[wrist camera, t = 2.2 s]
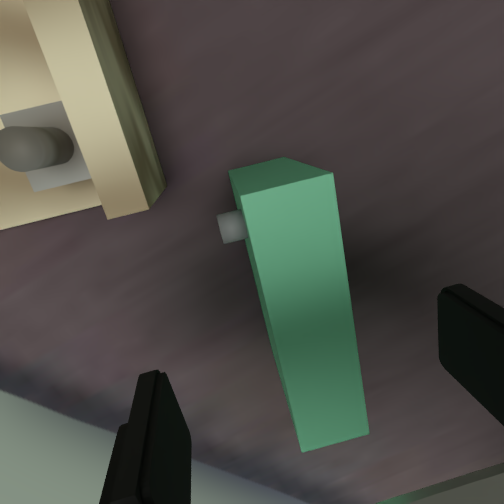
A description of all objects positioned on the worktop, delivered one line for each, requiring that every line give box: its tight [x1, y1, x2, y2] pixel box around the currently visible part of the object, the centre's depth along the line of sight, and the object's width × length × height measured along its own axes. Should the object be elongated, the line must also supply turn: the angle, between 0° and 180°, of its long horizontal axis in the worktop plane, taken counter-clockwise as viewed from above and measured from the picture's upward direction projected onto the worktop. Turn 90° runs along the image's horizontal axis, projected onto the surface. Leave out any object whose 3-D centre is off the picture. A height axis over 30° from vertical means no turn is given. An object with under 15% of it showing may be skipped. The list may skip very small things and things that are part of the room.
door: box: [217, 157, 369, 453], centre depth 17 cm, size 12×4×8 cm, turn 13°
